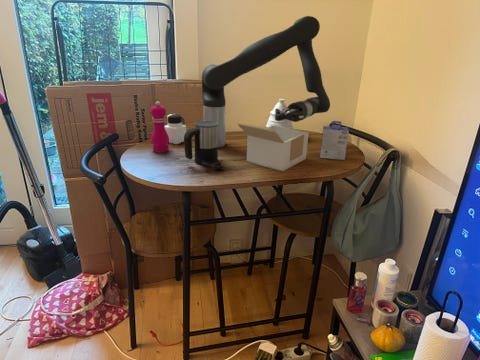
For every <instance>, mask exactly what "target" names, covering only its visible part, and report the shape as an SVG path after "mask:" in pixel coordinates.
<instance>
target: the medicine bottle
mask: <svg viewBox="0 0 480 360" xmlns="http://www.w3.org/2000/svg"><path fill="white" fill-rule="evenodd" d="M166 117H167V125H164V127H165V130H166V132H167V134H168V136H169V143H168V144H172V143H173V145H179V144H181V142H182V143H184V135H185V133H186V131H187V125H185V124H183V122H182V121H183V120H182V115H180V114H178V113H173V114H168V115H167V116H166Z"/></svg>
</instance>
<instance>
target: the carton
mask: <svg viewBox="0 0 480 360" xmlns="http://www.w3.org/2000/svg"><path fill="white" fill-rule="evenodd" d="M264 128H265V129H270V130H274V131H275V132H276V133H277V134H278V136H279V137H280V138H281V139H282V140H283V142H284V143H279V142H275V141H271V140H266V139H262V138H257V137H253V136H249V135H247V140H246V141H247V143H246V144H247V146H246V162H247V163H249V164H254V165H257V166H261V167H263V168H267V169H272V170H275V171H279V172H282V173H283V172H285V171H287V170H288V169H291V168H292V167H294V166H296V165H297V164H300V163H301V162H303V161H305V160H306V158H307V150H308V143H309V142H308V141H309V133H310V132H309V131H308V130H307V131H306V130H302V129H297V128H293V129H292V128H287V127H282V126H277V125H272V126H269V127H266V126H265V127H264Z"/></svg>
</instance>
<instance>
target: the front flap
mask: <svg viewBox="0 0 480 360" xmlns="http://www.w3.org/2000/svg"><path fill="white" fill-rule="evenodd" d="M236 125H238V127H239V128H240V129H241V130H242V131H243V132H244V133H245V134H246V135H247V136H248V135H249V136H253V137H257V138H262V139H266V140H271V141H275V142H279V143H284V142H283V140H282V139H281V138H280V137H279V136H278V134H277V133H276V132H275V131H274V130H270V129H265V127H260V126H255V125H252V124H251V125H250V124H246V123H239V122H237V123H236Z"/></svg>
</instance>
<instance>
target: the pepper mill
mask: <svg viewBox="0 0 480 360" xmlns="http://www.w3.org/2000/svg"><path fill="white" fill-rule="evenodd" d="M166 114H167V110H166V107H164V106H163V105H161V102H160V101H155V105H153V106H152V107H151V108H150V115H151V116H152V117H151V118H152V119H151V121H152V122H153V131H152V134H151V137H150V139H151V140H150V141H151V143H152V145H153V146H152V150H153V152H156V153H165V151H166V152H168V151H169V145H168V144H169V143H168V142H169V136H168V134H167V132H166V130H165V127H164V126H165V122H166Z"/></svg>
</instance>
